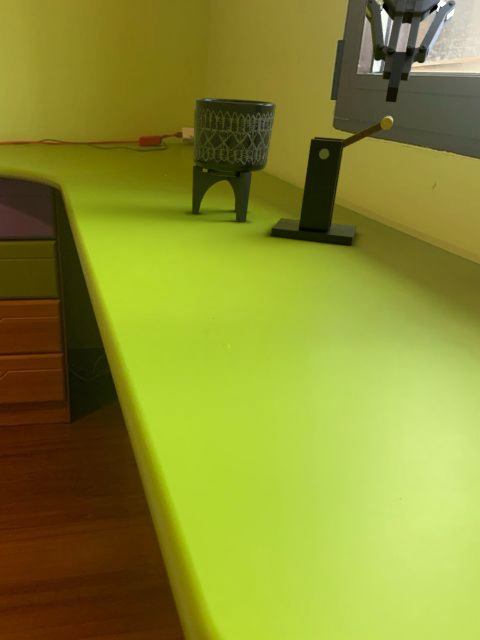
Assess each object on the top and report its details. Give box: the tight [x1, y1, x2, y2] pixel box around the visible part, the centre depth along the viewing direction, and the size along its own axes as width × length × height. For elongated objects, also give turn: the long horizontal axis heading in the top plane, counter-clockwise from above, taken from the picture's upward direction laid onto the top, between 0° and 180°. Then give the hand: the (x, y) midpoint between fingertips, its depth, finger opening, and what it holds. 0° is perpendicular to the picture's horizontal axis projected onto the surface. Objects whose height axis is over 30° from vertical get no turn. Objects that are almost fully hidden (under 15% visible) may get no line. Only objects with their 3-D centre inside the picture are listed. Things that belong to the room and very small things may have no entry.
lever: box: [341, 115, 394, 149], centre depth 99 cm, size 11×6×2 cm, turn 74°
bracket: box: [270, 136, 357, 246], centre depth 104 cm, size 12×9×14 cm
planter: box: [191, 97, 277, 223], centre depth 114 cm, size 13×13×18 cm
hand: (392, 94), depth 99 cm, fingers closed
